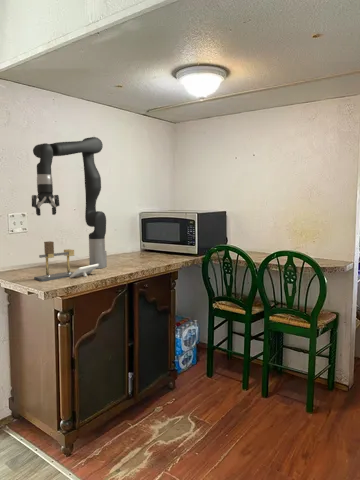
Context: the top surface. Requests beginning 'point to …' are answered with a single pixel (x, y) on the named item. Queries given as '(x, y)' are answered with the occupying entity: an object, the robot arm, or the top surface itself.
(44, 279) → the bolt plate
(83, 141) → the robot arm
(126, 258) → the top surface
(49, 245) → the block
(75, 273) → the light switch
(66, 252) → the dividers frame
